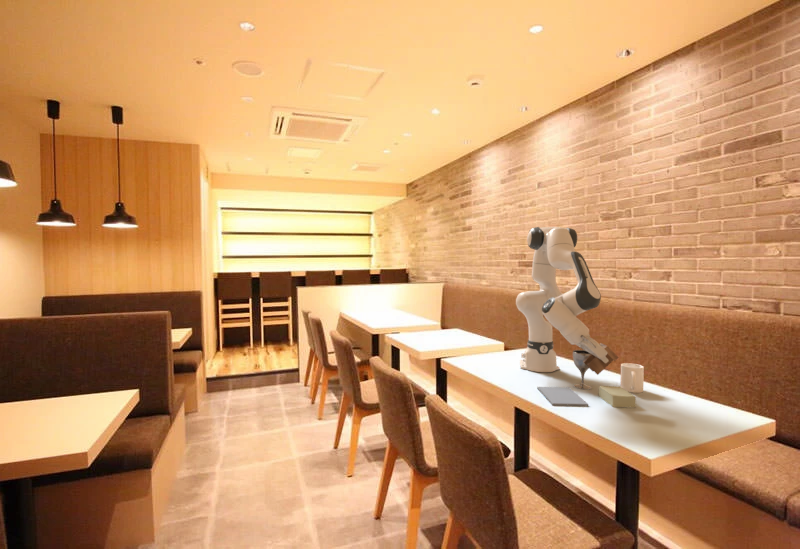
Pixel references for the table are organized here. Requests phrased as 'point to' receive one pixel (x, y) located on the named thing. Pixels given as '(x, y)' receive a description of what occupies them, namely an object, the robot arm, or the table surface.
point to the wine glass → (581, 366)
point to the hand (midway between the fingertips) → (602, 359)
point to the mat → (562, 396)
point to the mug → (632, 377)
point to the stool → (597, 363)
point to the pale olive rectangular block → (617, 396)
